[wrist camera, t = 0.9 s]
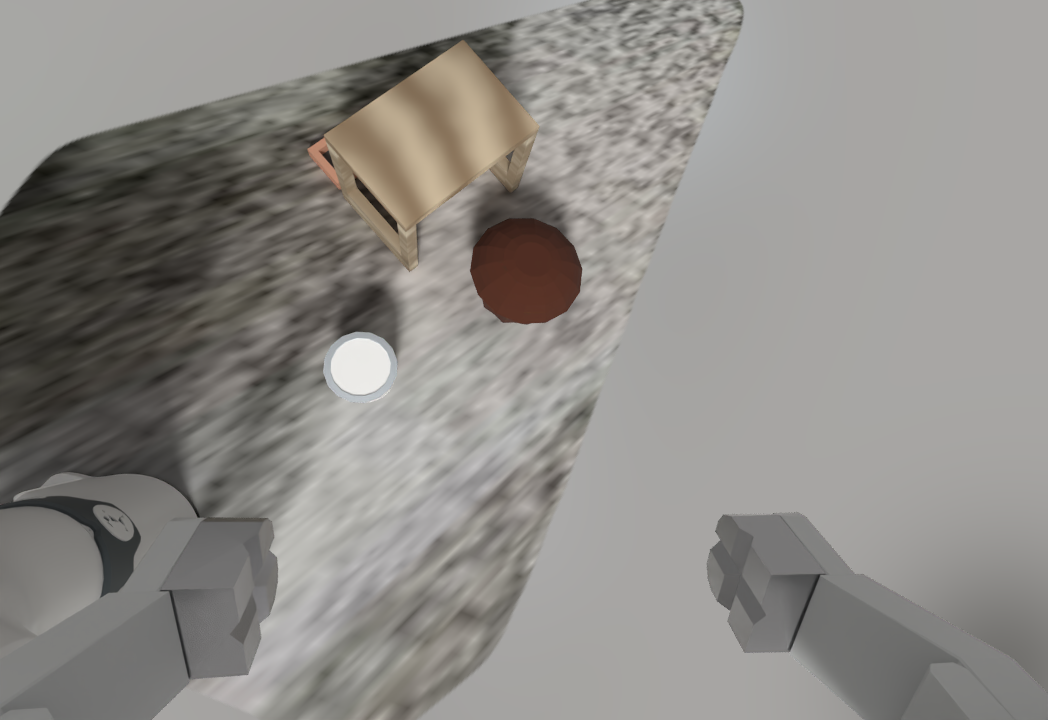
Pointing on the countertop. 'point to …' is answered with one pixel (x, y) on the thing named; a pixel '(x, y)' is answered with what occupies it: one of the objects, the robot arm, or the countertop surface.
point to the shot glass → (360, 367)
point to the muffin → (525, 271)
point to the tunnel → (430, 144)
